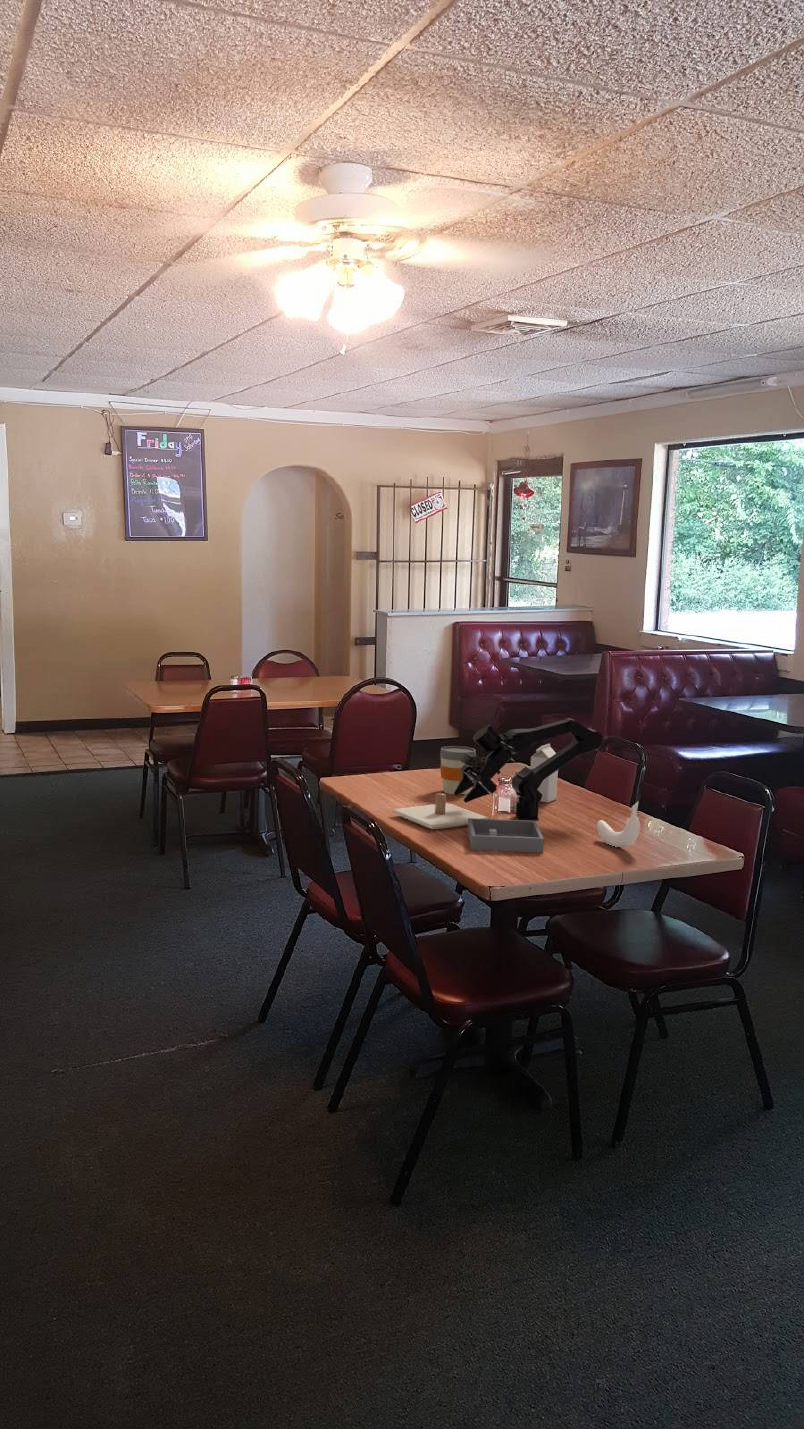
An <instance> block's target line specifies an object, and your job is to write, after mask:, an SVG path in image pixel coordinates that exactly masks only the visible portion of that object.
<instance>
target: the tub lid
mask: <svg viewBox="0 0 804 1429" xmlns="http://www.w3.org/2000/svg"><path fill="white" fill-rule="evenodd" d="M434 802H435V804H426V805H417V806H410V807H408V806H407V807H401V808H393V809H392V813H394V814H396V815H398V816H400V818H404V819H406V820H407V819H408V820H407V821H410V822H413V823H415V824H417V825H420V826H422V827H424V828H427V829H430V828H431V829H430V830H432V829H433V831H435V830H434V829H436V830H443V829H448V828H449V829H450V828H456V827H457V828H458V827H465V826H468V818H475V819H489V817H488V816H485V815H482V814H479V813H477V812H473V811H471V810H469V809H465V808H463V807H459V806H458V805H455V804H451V803H449V802H447V793H445V792H443V793H441V792H439V793H435V801H434Z"/></svg>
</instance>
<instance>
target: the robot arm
mask: <svg viewBox="0 0 804 1429" xmlns="http://www.w3.org/2000/svg"><path fill="white" fill-rule="evenodd" d="M568 733H569V734H571V735H572V736H574V737H573V738H572V739H571V742H569V744H567V745H566V746H564V747H563V748H561V749H560V750H559V751H558V752H555V753H556V754H554V755H553V756H552V757H550V758H549V759H547V760H546V761H544V762H543V763H541V764H540V765H539V766H537V767H536V768H534V769H530V767H527V766H524V767H523V768H522V769H520V771H518V772H515V773H514V774H515V775H514V776H513V777H512V779H511V787H512V789H513V790H514V791H515V794H516V796H517V801H515V810H514V811H515V813H514V814H515V816H516V818H517V820H529V821H538V820H539V807H540V806H539V802H541V801H540V800H541V798H542V794H541V793H540V792H539V791H538V790H537V789H538V788H539V787H540V785H541V783H542V782H543V780H544V779H546V778H547V777H548V776H550V775H551V774H553V773H554V772H556V771H557V770H558V771H559V770H560V769H562V768H563V767H564V766H566V765H567V764H569V763H570V762H571V761H573V760H575V759H576V758H577V757H578V756H580V755H584V754H587V753H591V752H593V751H595V750H598V749H599V748H600V747H601V746H602V745H603V740H604V739H603V735H602V733H600V732H599V731H597V730H595V729H592V728H590V727H586V726H584V725H582V724H580V723H579V722H578V721H577V720H575V719H573V718H571V717H570V718H569V717H567V718H565V719H562V720H558V721H554V722H550V723H547V724H542V725H540V726H537V727H533V728H515V729H510V730H508V731H507V732H506V733H501V734H498V733H497V731H496V730H495V729H494V727H493V726H492V725H490V724H487V725H486V726H483V727H481V728H480V729H478V730H477V731H476V732H475V734H474V735H473V736H472V740H473V741H474V742H475V744H477V745H478V746H479V747H480V748H481V749H482V751H484V752H485V753H487V752H488V753H489V754H488V755H487V756H486V757H485V756H482V757H481V756H479V755H478V754H476V755H475V756H472V755H469V754H467V753H465V754H464V756H463V758H462V761H461V762H463V763H464V764H466V765H464V766H463V767H462V768H461V770H462V771H461V777H462V778H461V780H460V782H459V784H458V786H457V788H456V790H455V792H454V794H455V796H456V797H457V796H460V795H459V794H461V793H463V792H464V791H466V790H468V789H470V790H469V793H468V794H465V795H466V796H465V797H464V799H463V802H464V803H469V802H471V801H473V800H476V799H478V798H482V797H484V796H485V797H486V796H487V795H488V796H489V795H490V794H491V795H493V794H494V793H495V792H496V791H497V790H498V789H497V787H498V786H497V784H496V783H495V782H494V781H493V780H492V779H493V778H494V776H496V775H499V774H501V772H502V771H501V769H502V768H504V767H505V765H507V763H508V762H510V761H513V762H515V763H517V762H518V753H517V752H519V751H524V750H525V749H527V748H529V747H532V746H533V745H534V744H535V743H538V742H539V741H540V742H541V741H544V740H548V739H550V738H551V739H552V738H555V737H557V736H561V735H565V734H568ZM502 744H503V745H506V746H503V745H502ZM510 748H511V749H513V750H515V751H517V752H515V751H512V750H511V749H510Z"/></svg>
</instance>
